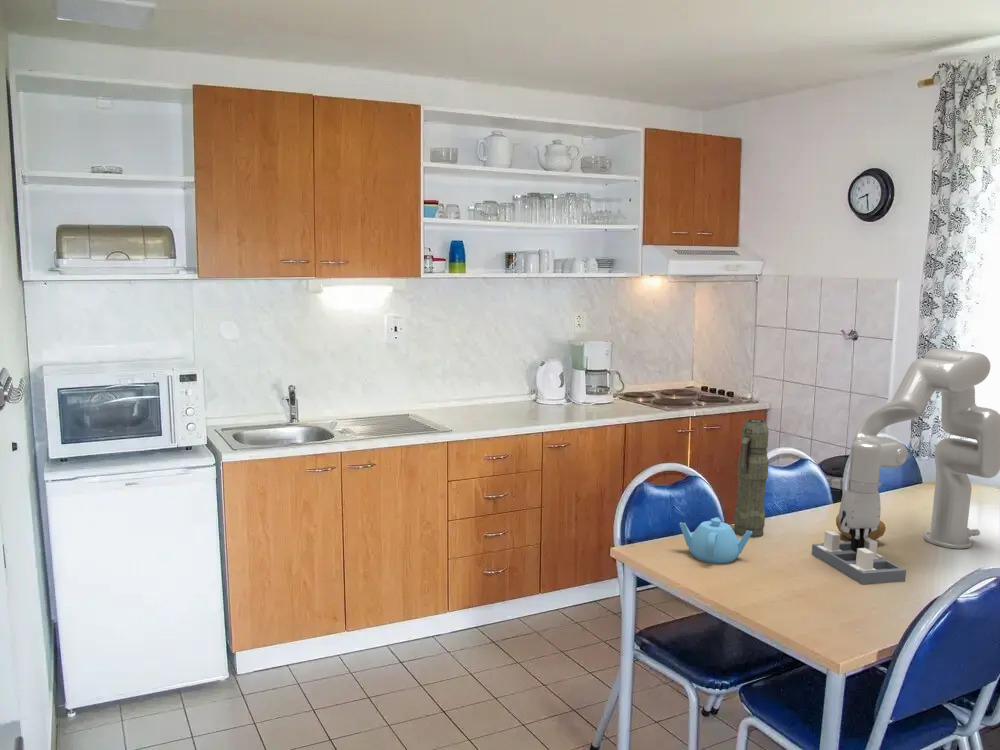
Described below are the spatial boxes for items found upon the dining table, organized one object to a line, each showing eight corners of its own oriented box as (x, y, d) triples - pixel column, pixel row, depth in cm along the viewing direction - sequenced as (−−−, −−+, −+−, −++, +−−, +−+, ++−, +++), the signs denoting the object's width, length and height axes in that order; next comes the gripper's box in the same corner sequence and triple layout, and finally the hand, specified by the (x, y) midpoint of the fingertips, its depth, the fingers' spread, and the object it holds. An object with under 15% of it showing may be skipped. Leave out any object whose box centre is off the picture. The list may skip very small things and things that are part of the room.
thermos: (726, 533, 248) (733, 421, 243) (743, 524, 257) (750, 416, 252) (753, 540, 243) (761, 425, 238) (770, 531, 251) (778, 420, 246)
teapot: (674, 550, 233) (676, 514, 232) (715, 543, 240) (718, 508, 238) (709, 569, 220) (711, 531, 218) (752, 561, 226) (755, 524, 225)
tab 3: (864, 570, 218) (866, 547, 217) (875, 576, 214) (877, 553, 213) (851, 571, 217) (853, 548, 217) (862, 577, 213) (864, 554, 212)
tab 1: (832, 551, 232) (833, 530, 231) (841, 557, 228) (843, 535, 227) (819, 552, 231) (821, 530, 230) (829, 558, 227) (831, 536, 226)
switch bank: (851, 551, 236) (852, 540, 235) (905, 580, 214) (906, 568, 214) (811, 554, 233) (812, 543, 232) (862, 584, 211) (863, 572, 211)
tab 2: (868, 559, 227) (870, 537, 226) (879, 565, 222) (881, 542, 221) (855, 560, 226) (857, 537, 225) (866, 566, 221) (868, 543, 221)
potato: (880, 550, 237) (882, 523, 236) (830, 539, 246) (832, 513, 244) (888, 541, 245) (890, 515, 244) (839, 531, 253) (841, 506, 252)
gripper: (877, 481, 225) (871, 545, 228) (829, 483, 222) (824, 548, 225) (896, 489, 218) (889, 554, 221) (847, 491, 215) (841, 558, 217)
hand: (856, 551), depth 223 cm, fingers closed
